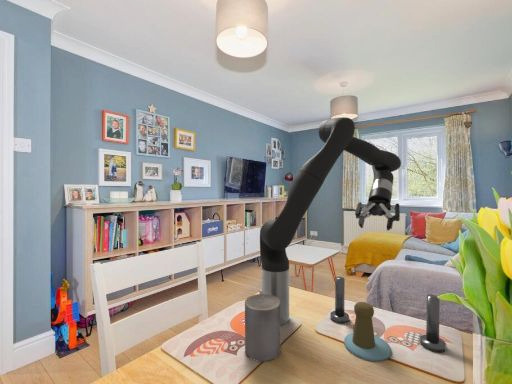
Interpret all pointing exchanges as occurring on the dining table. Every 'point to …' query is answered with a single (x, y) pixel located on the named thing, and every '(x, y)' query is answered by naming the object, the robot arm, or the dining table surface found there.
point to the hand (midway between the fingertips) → (374, 227)
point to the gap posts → (432, 319)
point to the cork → (363, 326)
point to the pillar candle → (262, 327)
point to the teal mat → (375, 354)
